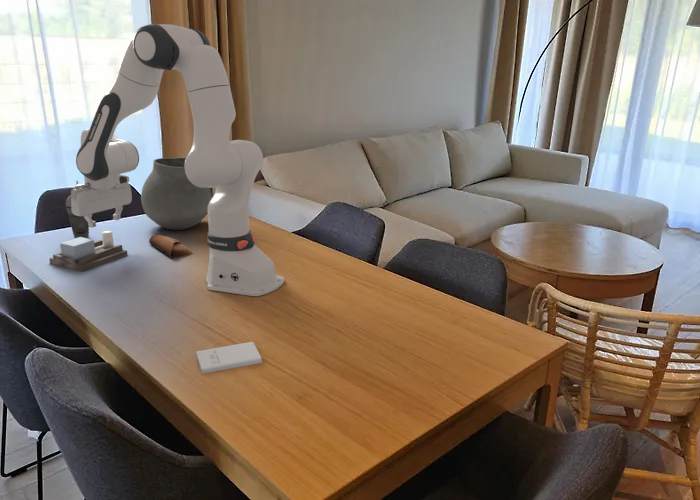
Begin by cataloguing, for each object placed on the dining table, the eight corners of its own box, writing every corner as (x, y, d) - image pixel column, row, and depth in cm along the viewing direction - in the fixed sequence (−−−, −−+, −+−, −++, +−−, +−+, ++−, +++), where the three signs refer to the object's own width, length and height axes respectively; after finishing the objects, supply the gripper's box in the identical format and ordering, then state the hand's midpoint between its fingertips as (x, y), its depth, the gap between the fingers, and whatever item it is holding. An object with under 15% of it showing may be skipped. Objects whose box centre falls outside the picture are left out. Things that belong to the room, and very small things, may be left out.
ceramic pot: (175, 241, 193) (169, 169, 185) (130, 228, 206) (122, 160, 198) (226, 225, 213) (223, 159, 205) (182, 214, 225) (177, 152, 217)
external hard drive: (262, 365, 119) (201, 375, 114) (253, 347, 126) (196, 356, 121) (261, 358, 118) (201, 368, 114) (252, 340, 126) (195, 350, 121)
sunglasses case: (196, 253, 182) (185, 238, 178) (179, 268, 179) (167, 253, 176) (172, 239, 195) (161, 225, 191) (156, 253, 192) (145, 238, 188)
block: (119, 247, 181) (117, 232, 179) (76, 262, 167) (73, 246, 166) (106, 244, 184) (104, 229, 182) (62, 258, 170) (60, 243, 168)
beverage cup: (78, 234, 199) (70, 178, 192) (97, 235, 198) (90, 179, 191) (65, 240, 192) (56, 182, 185) (85, 241, 191) (77, 183, 184)
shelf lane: (127, 255, 179) (126, 246, 178) (81, 271, 165) (80, 262, 164) (97, 247, 185) (95, 239, 184) (50, 263, 171) (48, 253, 170)
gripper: (78, 188, 164) (83, 233, 168) (133, 176, 181) (136, 217, 186) (63, 185, 167) (69, 229, 171) (119, 173, 184) (123, 214, 188)
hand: (105, 223), depth 179 cm, fingers open, 8 cm apart
